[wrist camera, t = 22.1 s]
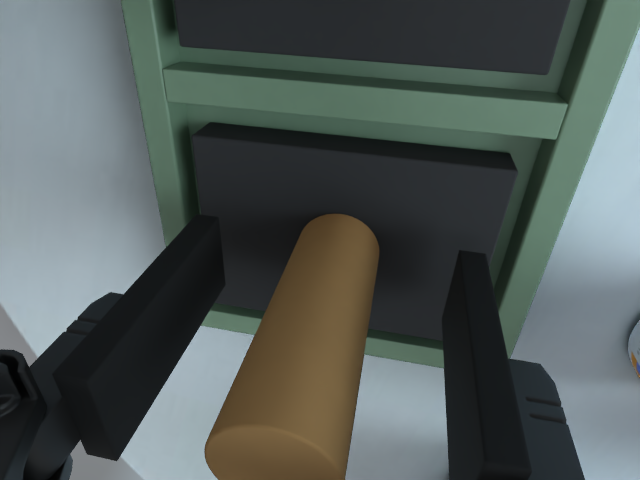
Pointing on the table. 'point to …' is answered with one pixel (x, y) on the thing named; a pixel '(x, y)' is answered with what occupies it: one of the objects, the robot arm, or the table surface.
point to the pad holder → (392, 130)
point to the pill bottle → (635, 348)
